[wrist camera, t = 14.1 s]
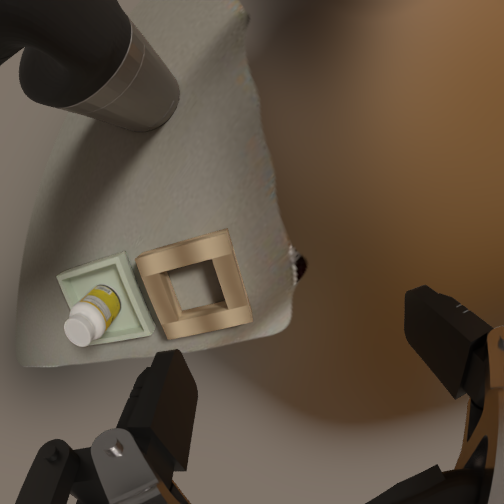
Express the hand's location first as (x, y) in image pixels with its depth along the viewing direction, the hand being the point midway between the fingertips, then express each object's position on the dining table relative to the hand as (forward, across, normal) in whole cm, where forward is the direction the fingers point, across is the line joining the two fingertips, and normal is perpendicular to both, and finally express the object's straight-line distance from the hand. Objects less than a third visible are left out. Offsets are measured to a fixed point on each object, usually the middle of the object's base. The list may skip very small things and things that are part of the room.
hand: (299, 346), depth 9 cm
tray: (+27, +24, +6) cm, 37 cm away
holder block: (+27, +10, +7) cm, 30 cm away
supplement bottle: (+27, +24, +6) cm, 37 cm away
